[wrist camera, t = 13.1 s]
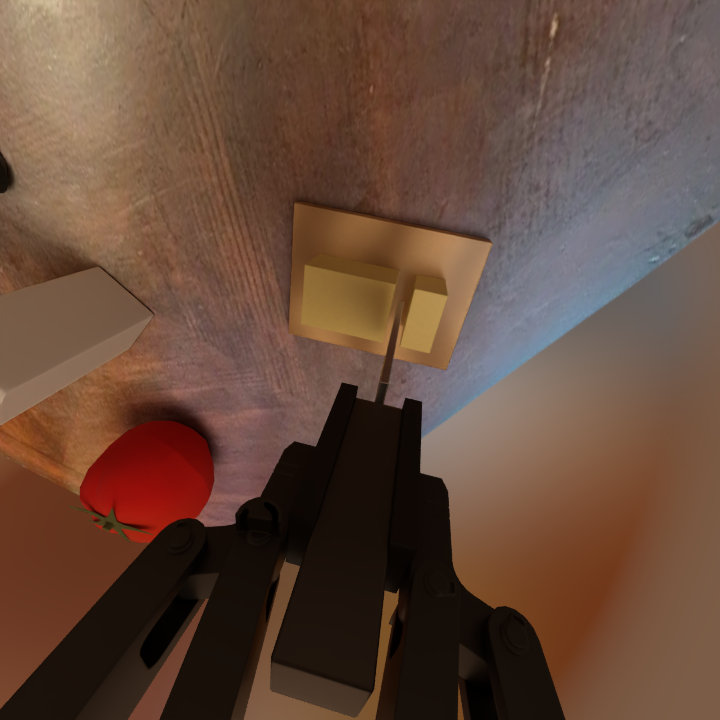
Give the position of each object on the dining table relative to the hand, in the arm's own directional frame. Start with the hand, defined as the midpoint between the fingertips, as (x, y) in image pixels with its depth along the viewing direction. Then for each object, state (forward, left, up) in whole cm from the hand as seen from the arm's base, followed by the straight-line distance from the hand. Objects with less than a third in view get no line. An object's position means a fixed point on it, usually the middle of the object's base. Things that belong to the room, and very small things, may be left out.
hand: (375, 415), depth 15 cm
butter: (+4, 0, -16) cm, 16 cm away
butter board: (+2, 0, -17) cm, 17 cm away
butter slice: (-2, 0, -16) cm, 16 cm away
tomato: (+25, +29, -17) cm, 42 cm away
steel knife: (0, 0, -10) cm, 10 cm away
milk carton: (+31, +9, -17) cm, 37 cm away
